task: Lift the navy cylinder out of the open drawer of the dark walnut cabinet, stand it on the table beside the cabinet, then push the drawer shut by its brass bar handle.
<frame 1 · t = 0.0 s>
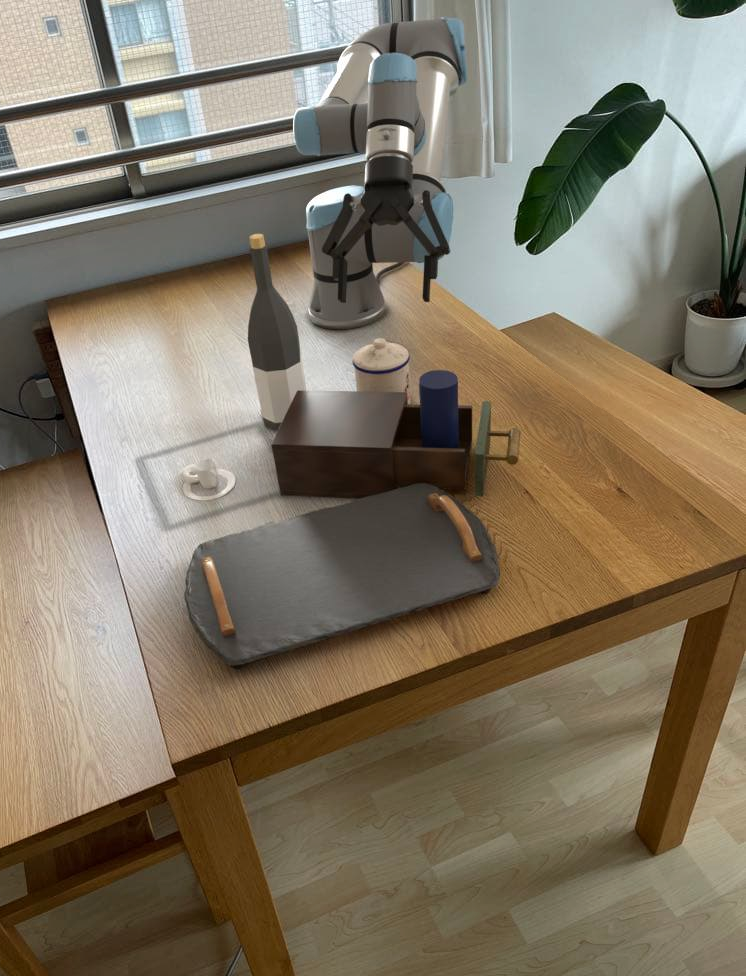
hand: (383, 300, 130), 15 cm above the table, tool tilted 35°, fingers open, 13 cm apart
drawer: (447, 446, 116), point 4 cm above the table, slide at 11.0 cm, touching navy cylinder
navy cylinder: (440, 459, 117), point 2 cm above the table, touching drawer
teacup and saucer: (216, 476, 125), on the table
serving tray: (341, 580, 103), on the table
teacup with lid: (382, 402, 136), on the table
cabinet: (347, 468, 122), on the table
wine bottle: (287, 419, 135), on the table
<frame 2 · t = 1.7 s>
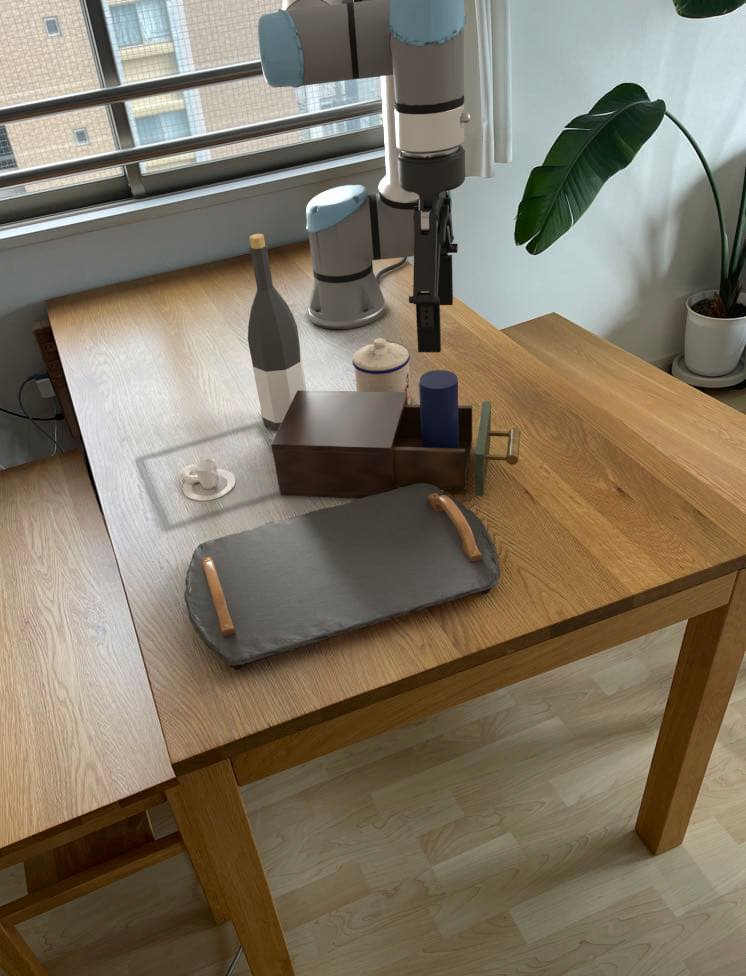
hand: (436, 326, 104), 23 cm above the table, tool pointing down, fingers open, 13 cm apart
nothing on the table moved.
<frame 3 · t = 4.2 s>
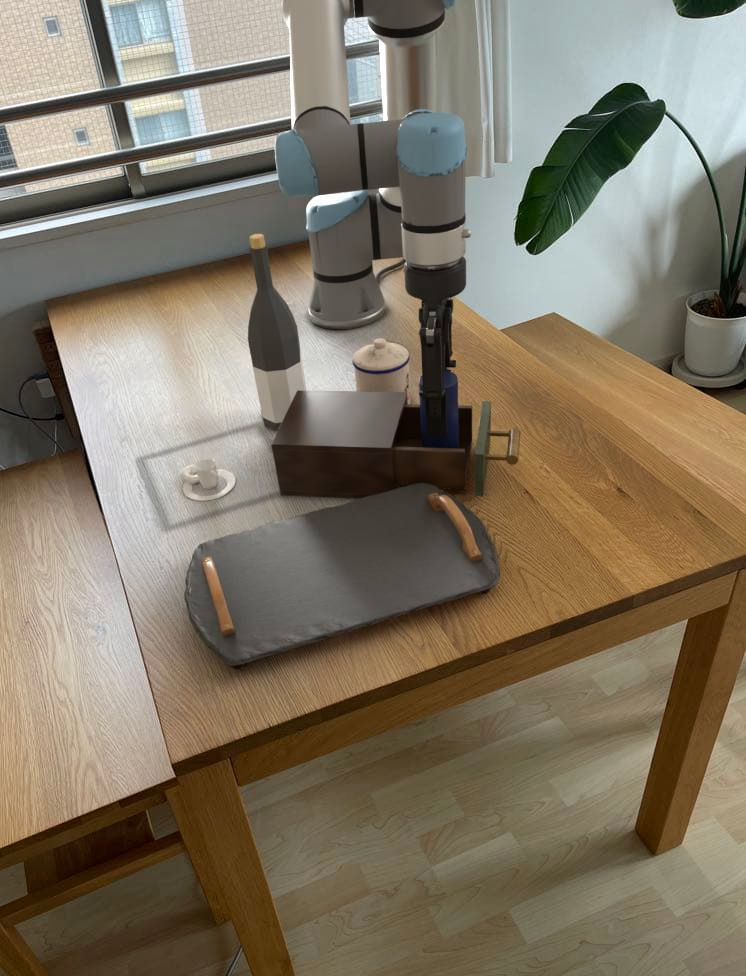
hand: (439, 422, 113), 8 cm above the table, tool pointing down, fingers closed on navy cylinder, 5 cm apart
navy cylinder: (440, 459, 117), point 2 cm above the table, touching drawer, gripper
everything else where it was.
when the fingers open (6 cm above the table, at t = 11.5 s): navy cylinder stays where it is, on the table.
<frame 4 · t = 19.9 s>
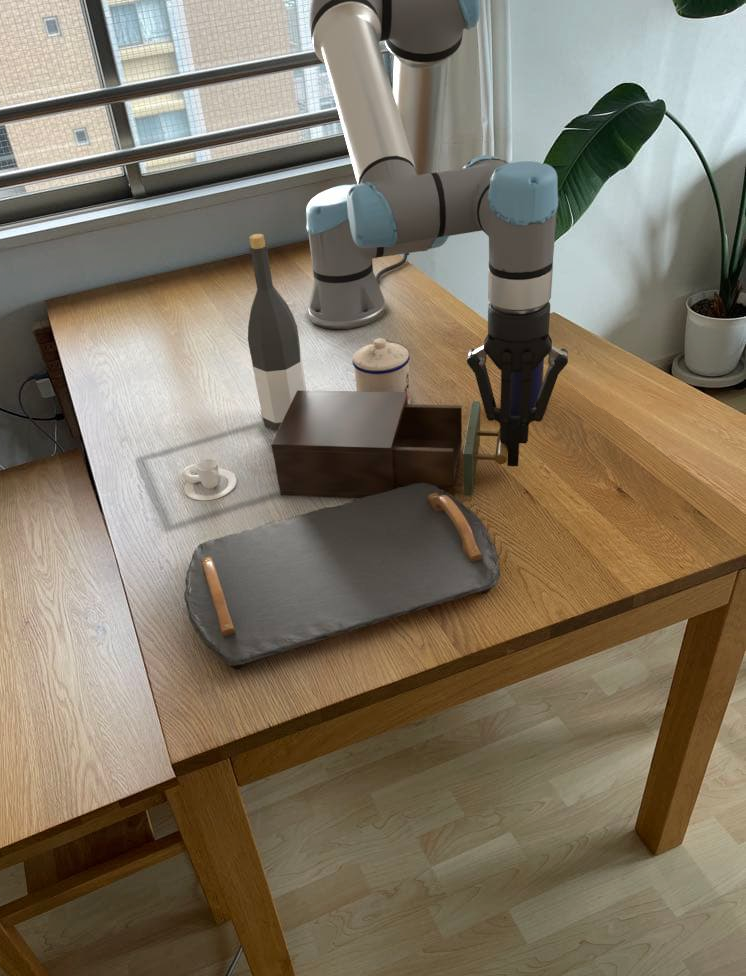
hand: (513, 460, 115), 2 cm above the table, tool pointing down, fingers closed
drawer: (436, 446, 116), point 4 cm above the table, slide at 9.5 cm, touching gripper
navy cylinder: (523, 410, 129), on the table
everything else where it was.
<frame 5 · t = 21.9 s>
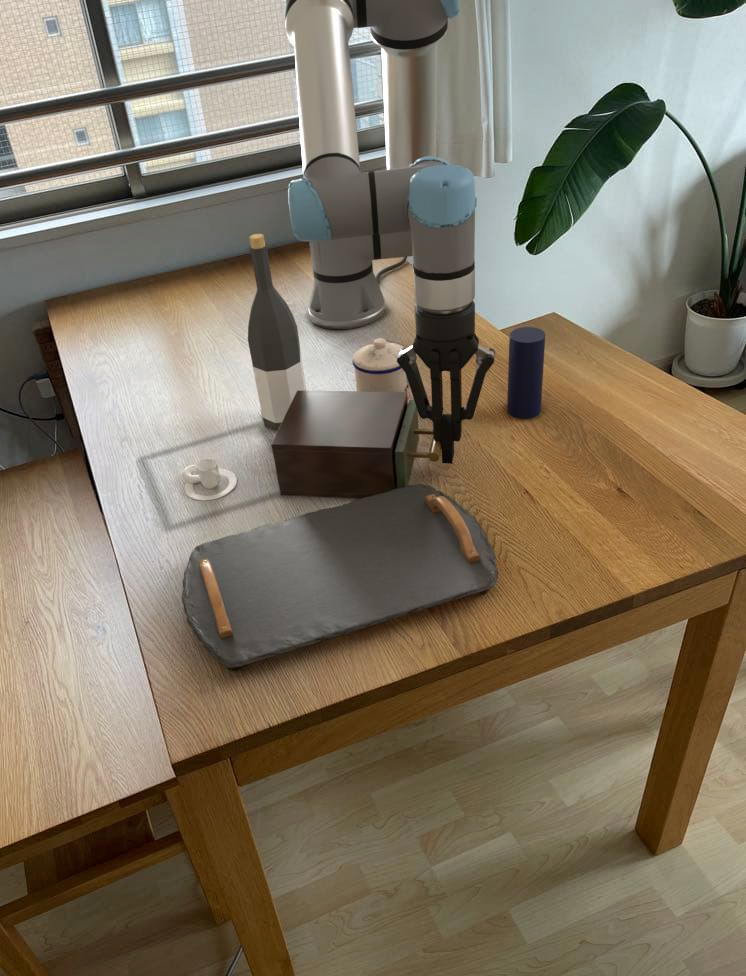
hand: (448, 458, 117), 2 cm above the table, tool pointing down, fingers closed
drawer: (373, 444, 118), point 4 cm above the table, slide at 0.3 cm, touching gripper
everything else where it was.
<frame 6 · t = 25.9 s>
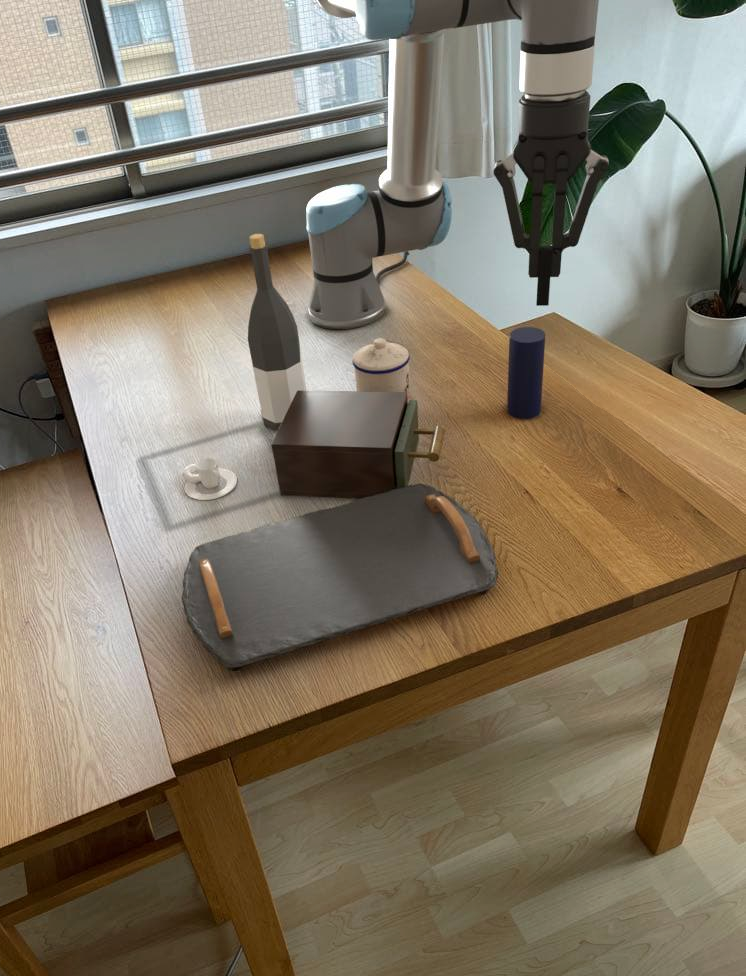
hand: (542, 300, 103), 24 cm above the table, tool pointing down, fingers closed
drawer: (373, 444, 118), point 4 cm above the table, slide at 0.3 cm
teacup and saucer: (218, 475, 125), on the table, touching cabinet
everything else where it was.
at the end: navy cylinder inside the target area (0.1 cm from its centre), on the table; navy cylinder tilted 0°; drawer slide at 0.3 cm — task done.
